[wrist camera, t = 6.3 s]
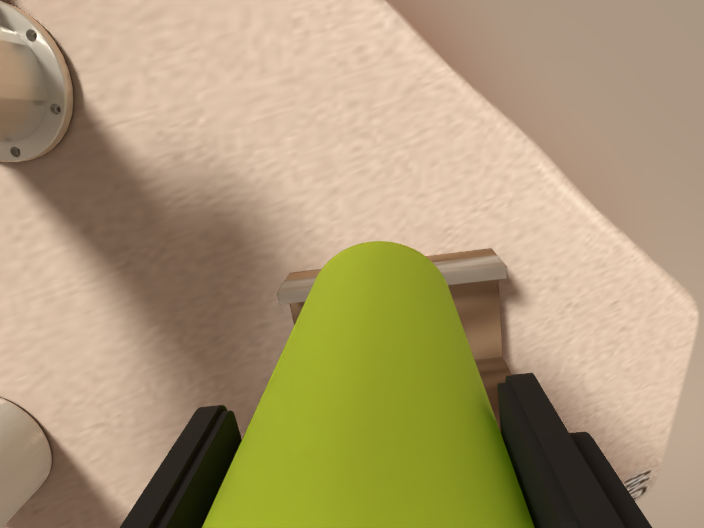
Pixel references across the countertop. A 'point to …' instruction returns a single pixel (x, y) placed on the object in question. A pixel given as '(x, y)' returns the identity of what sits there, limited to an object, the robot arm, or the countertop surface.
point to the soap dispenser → (373, 412)
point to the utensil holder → (20, 459)
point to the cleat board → (470, 301)
